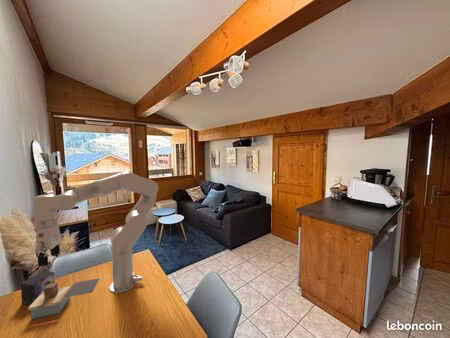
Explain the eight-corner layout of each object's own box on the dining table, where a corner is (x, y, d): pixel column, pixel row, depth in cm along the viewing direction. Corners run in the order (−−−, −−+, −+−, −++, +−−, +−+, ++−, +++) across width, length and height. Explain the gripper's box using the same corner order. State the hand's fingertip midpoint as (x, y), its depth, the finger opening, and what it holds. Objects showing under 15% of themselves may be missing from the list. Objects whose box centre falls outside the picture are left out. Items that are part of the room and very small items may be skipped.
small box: (31, 306, 89) (30, 284, 88) (20, 304, 90) (19, 283, 89) (55, 291, 99) (54, 271, 98) (45, 289, 100) (44, 270, 100)
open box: (70, 298, 94) (69, 288, 93) (60, 314, 84) (59, 303, 84) (44, 303, 90) (44, 293, 90) (31, 320, 81) (30, 309, 81)
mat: (99, 278, 109) (99, 278, 109) (92, 292, 97) (92, 292, 97) (74, 283, 105) (74, 282, 105) (63, 298, 94) (63, 297, 94)
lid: (71, 287, 94) (70, 275, 94) (60, 303, 83) (59, 290, 83) (43, 292, 91) (42, 280, 90) (28, 310, 80) (27, 296, 80)
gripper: (46, 228, 78) (49, 268, 79) (66, 216, 94) (68, 249, 95) (22, 230, 76) (26, 272, 77) (47, 217, 92) (49, 252, 93)
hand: (49, 259), depth 86 cm, fingers open, 9 cm apart
